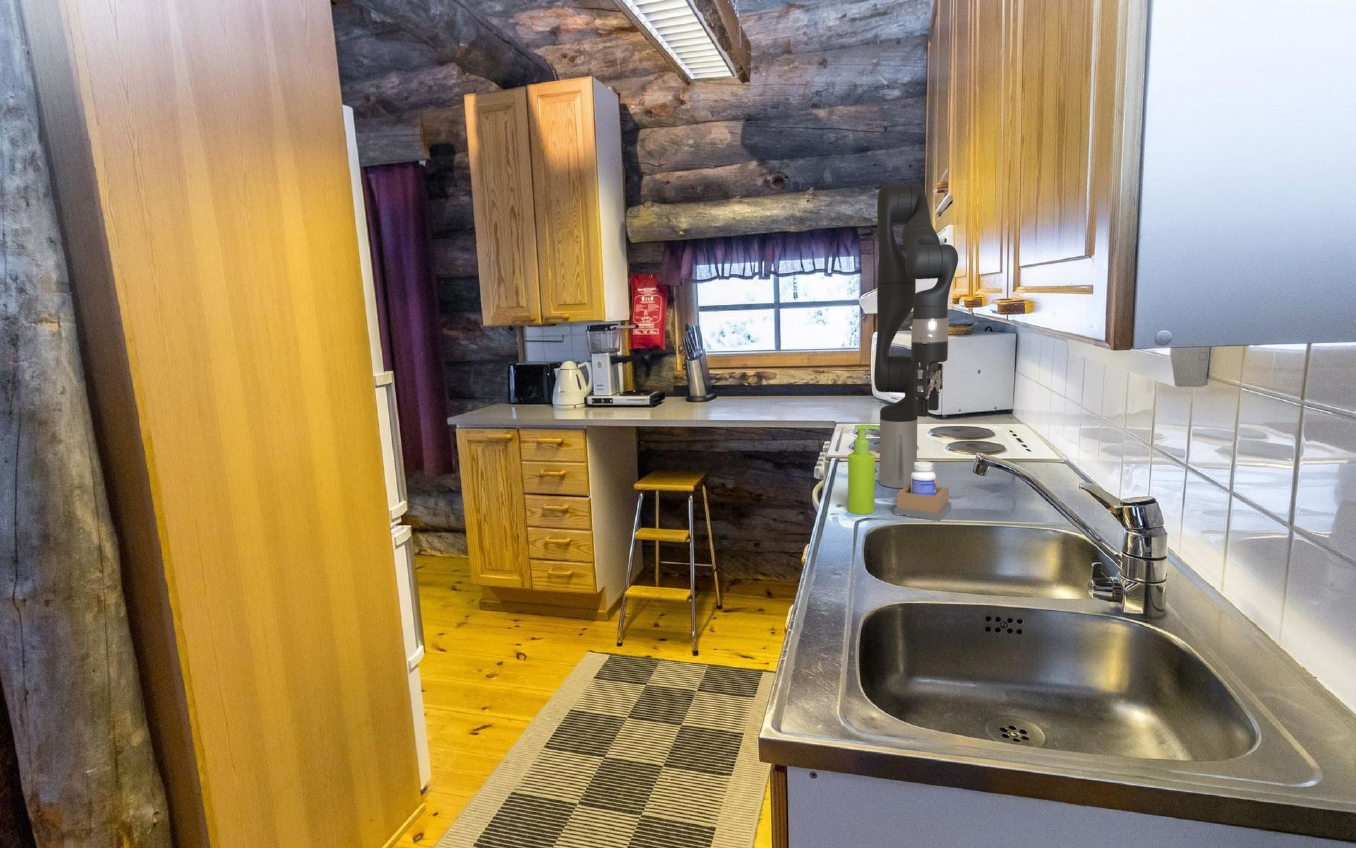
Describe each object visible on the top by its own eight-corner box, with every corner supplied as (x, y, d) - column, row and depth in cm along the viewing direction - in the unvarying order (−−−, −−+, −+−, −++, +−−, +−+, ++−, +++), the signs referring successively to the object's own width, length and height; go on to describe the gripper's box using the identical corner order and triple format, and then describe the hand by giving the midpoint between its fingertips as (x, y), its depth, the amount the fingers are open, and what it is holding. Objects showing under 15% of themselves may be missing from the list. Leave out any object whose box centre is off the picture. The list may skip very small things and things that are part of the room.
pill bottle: (939, 507, 155) (940, 465, 154) (915, 509, 155) (915, 466, 154) (930, 501, 161) (931, 459, 159) (906, 502, 161) (907, 461, 159)
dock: (906, 503, 165) (907, 482, 164) (951, 508, 159) (951, 487, 158) (893, 514, 157) (894, 493, 156) (940, 521, 151) (940, 498, 150)
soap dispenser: (880, 514, 157) (880, 427, 154) (848, 514, 159) (848, 427, 155) (878, 507, 163) (878, 422, 159) (847, 506, 164) (847, 423, 161)
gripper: (921, 337, 159) (919, 407, 162) (902, 342, 147) (901, 417, 150) (955, 337, 155) (953, 409, 158) (939, 342, 143) (937, 419, 146)
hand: (927, 413), depth 154 cm, fingers open, 8 cm apart
